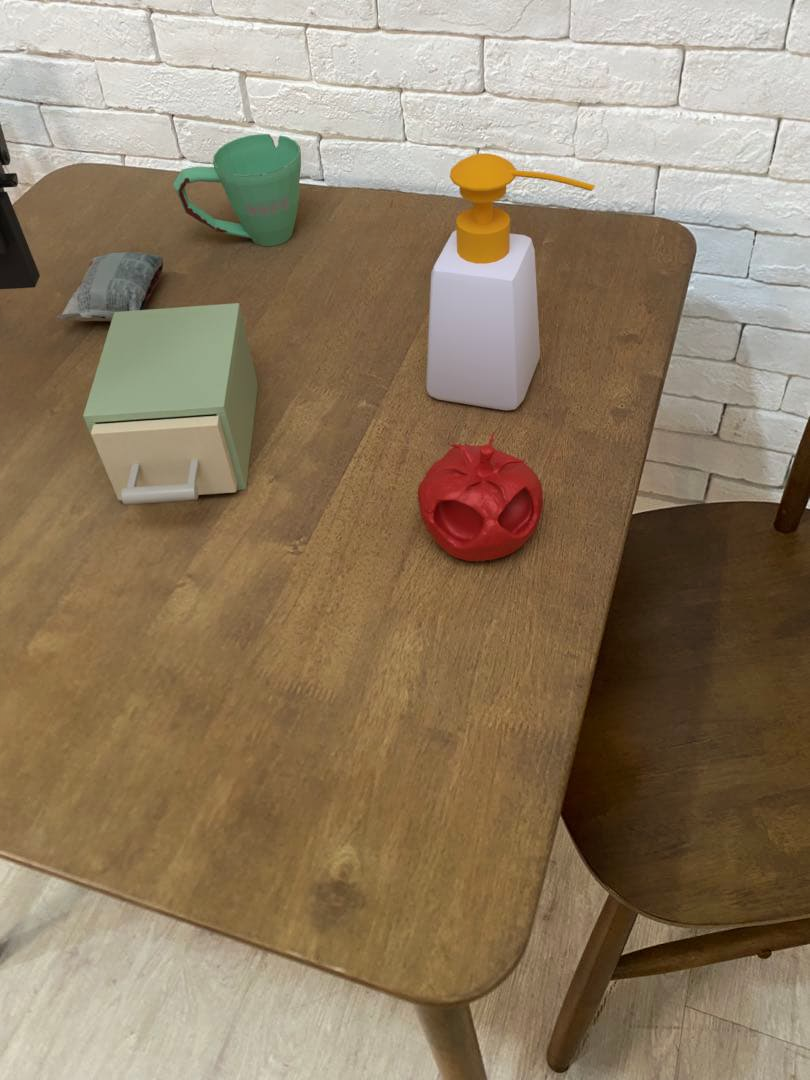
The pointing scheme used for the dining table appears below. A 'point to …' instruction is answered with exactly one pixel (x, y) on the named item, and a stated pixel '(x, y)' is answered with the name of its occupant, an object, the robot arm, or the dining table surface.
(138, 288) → the packaged food
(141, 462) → the drawer
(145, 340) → the cabinet
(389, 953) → the dining table surface
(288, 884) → the dining table surface
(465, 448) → the red carved tomato
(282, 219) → the mug
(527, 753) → the dining table surface
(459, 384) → the soap bottle
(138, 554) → the dining table surface
